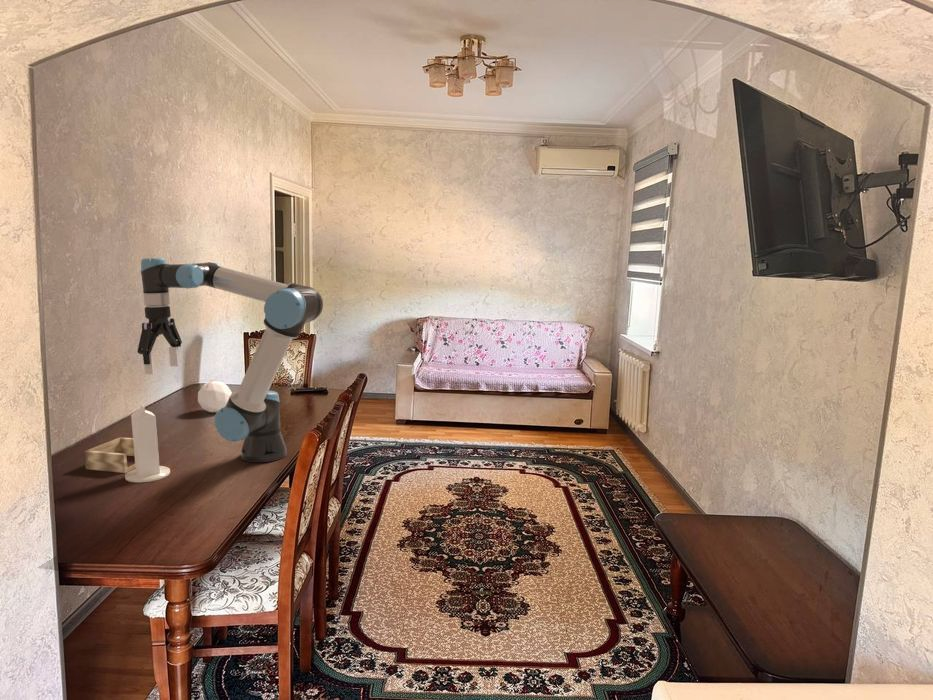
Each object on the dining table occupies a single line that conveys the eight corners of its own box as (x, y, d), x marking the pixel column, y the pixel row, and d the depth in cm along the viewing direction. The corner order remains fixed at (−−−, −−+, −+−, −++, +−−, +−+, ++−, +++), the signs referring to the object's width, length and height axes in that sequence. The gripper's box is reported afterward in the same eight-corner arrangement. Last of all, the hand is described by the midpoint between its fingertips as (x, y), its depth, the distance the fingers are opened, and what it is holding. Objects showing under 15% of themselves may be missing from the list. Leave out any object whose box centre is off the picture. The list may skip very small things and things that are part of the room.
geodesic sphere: (221, 404, 273) (228, 373, 280) (187, 404, 274) (194, 373, 280) (233, 418, 287) (239, 388, 293) (201, 417, 287) (207, 388, 293)
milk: (139, 477, 204) (133, 409, 200) (135, 472, 209) (129, 405, 205) (160, 473, 208) (154, 406, 204) (156, 468, 213) (150, 402, 209)
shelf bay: (158, 457, 226) (157, 440, 225) (125, 472, 210) (123, 455, 209) (121, 453, 229) (120, 437, 228) (85, 469, 214) (83, 451, 213)
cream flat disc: (179, 469, 213) (178, 467, 213) (151, 484, 201) (151, 481, 201) (144, 466, 216) (144, 464, 216) (115, 480, 204) (115, 478, 204)
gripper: (169, 302, 225) (174, 362, 229) (120, 309, 201) (127, 377, 204) (189, 302, 224) (194, 363, 227) (143, 309, 200) (149, 378, 203)
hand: (162, 370), depth 216 cm, fingers open, 13 cm apart
